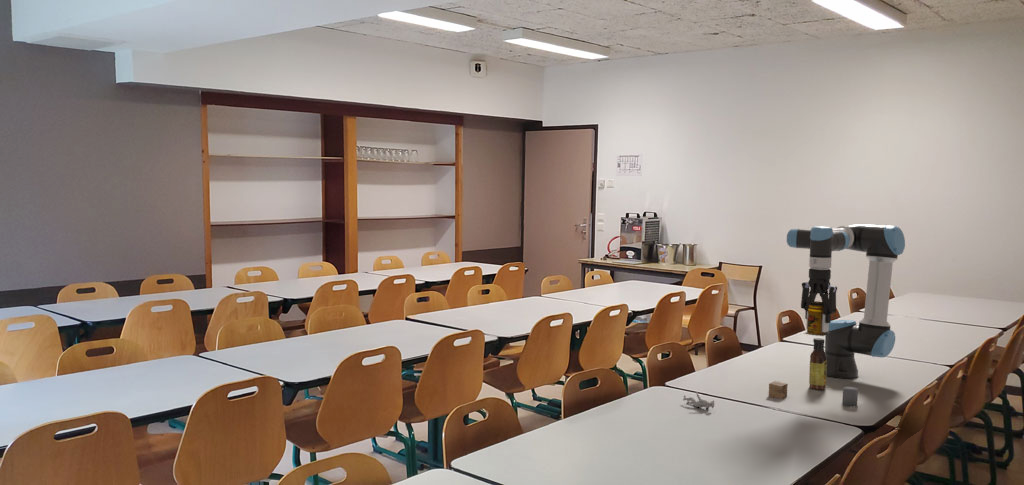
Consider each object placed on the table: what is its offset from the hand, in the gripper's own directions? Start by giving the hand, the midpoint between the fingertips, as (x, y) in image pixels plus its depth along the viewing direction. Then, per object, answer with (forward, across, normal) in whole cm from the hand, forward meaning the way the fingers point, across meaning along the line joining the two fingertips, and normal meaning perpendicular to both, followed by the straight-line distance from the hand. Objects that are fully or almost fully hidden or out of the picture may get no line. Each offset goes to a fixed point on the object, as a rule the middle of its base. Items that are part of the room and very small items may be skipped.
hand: (817, 329), depth 272 cm
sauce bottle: (+27, -10, +15) cm, 33 cm away
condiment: (+2, 0, 0) cm, 2 cm away
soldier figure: (+27, -14, -45) cm, 55 cm away
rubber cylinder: (+27, +10, +7) cm, 30 cm away
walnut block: (+27, -10, -8) cm, 30 cm away
